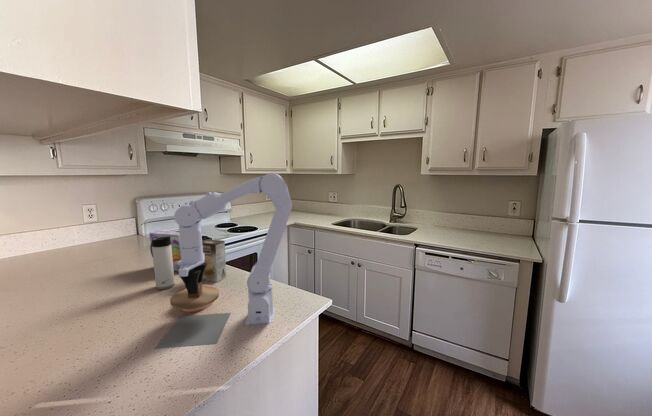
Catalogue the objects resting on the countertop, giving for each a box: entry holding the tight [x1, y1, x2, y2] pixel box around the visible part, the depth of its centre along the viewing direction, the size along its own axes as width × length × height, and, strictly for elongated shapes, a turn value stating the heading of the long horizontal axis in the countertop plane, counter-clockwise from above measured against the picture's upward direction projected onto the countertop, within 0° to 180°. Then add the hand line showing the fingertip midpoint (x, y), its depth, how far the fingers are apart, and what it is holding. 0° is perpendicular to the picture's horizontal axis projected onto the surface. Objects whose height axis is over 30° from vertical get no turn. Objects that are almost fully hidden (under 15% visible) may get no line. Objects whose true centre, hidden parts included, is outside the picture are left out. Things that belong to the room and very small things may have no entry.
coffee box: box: [202, 238, 227, 283], centre depth 110 cm, size 9×6×16 cm
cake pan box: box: [148, 229, 181, 273], centre depth 121 cm, size 19×5×18 cm, turn 70°
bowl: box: [181, 284, 215, 313], centre depth 88 cm, size 10×10×5 cm
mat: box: [153, 312, 232, 350], centre depth 74 cm, size 15×15×1 cm
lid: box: [169, 281, 220, 310], centre depth 78 cm, size 13×13×4 cm
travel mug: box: [152, 236, 176, 291], centre depth 102 cm, size 6×7×20 cm
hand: (195, 290), depth 78 cm, fingers closed on lid, 3 cm apart
